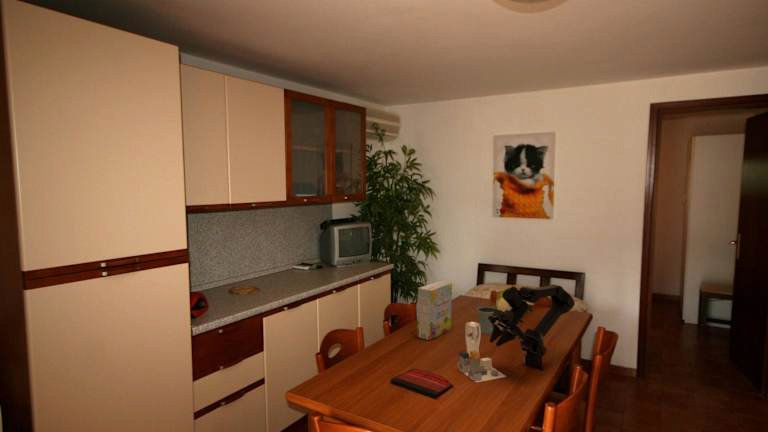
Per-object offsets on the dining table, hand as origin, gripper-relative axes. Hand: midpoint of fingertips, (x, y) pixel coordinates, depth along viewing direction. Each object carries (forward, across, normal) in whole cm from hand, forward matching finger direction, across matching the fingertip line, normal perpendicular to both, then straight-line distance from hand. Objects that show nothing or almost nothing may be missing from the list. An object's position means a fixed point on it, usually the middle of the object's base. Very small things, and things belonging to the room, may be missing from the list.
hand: (493, 344), depth 174 cm
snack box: (+8, -54, +11) cm, 56 cm away
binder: (+30, -5, -10) cm, 32 cm away
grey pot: (-11, -46, +30) cm, 56 cm away
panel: (+12, -3, +7) cm, 14 cm away
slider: (+9, -6, +9) cm, 14 cm away
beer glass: (+7, -20, +12) cm, 25 cm away
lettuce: (-30, -65, +50) cm, 87 cm away
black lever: (+14, -8, +2) cm, 16 cm away
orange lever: (+14, 0, +2) cm, 14 cm away
